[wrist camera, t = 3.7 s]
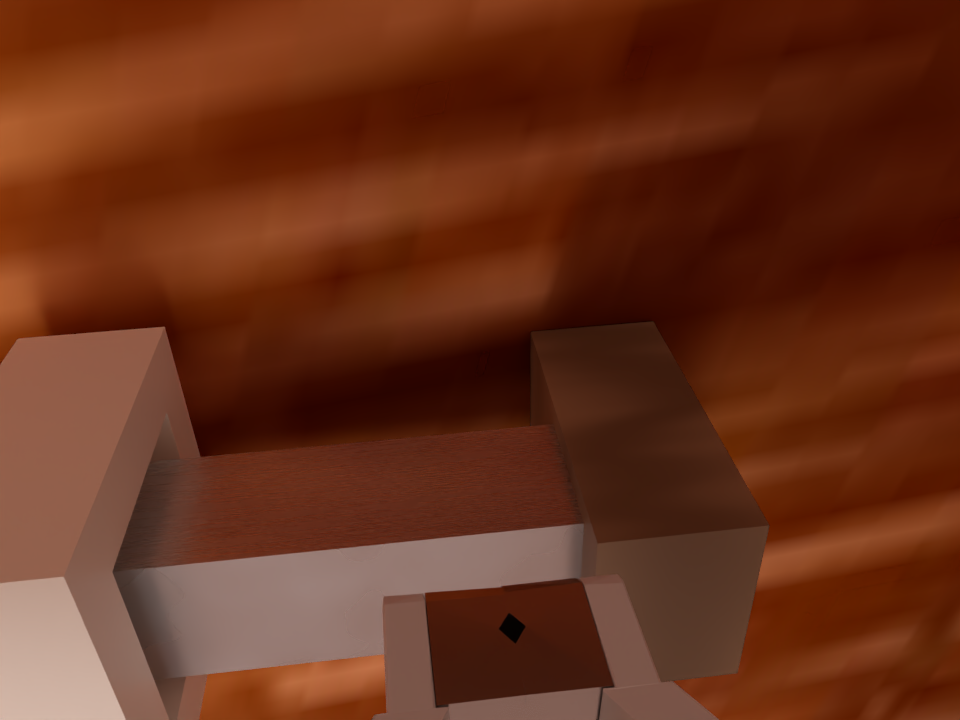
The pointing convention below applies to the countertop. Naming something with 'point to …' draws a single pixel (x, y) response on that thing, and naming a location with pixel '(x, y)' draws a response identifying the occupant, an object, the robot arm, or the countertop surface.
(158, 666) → the steel rail
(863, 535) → the countertop surface
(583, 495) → the posts
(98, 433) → the collar
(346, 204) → the countertop surface
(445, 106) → the countertop surface
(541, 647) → the robot arm
